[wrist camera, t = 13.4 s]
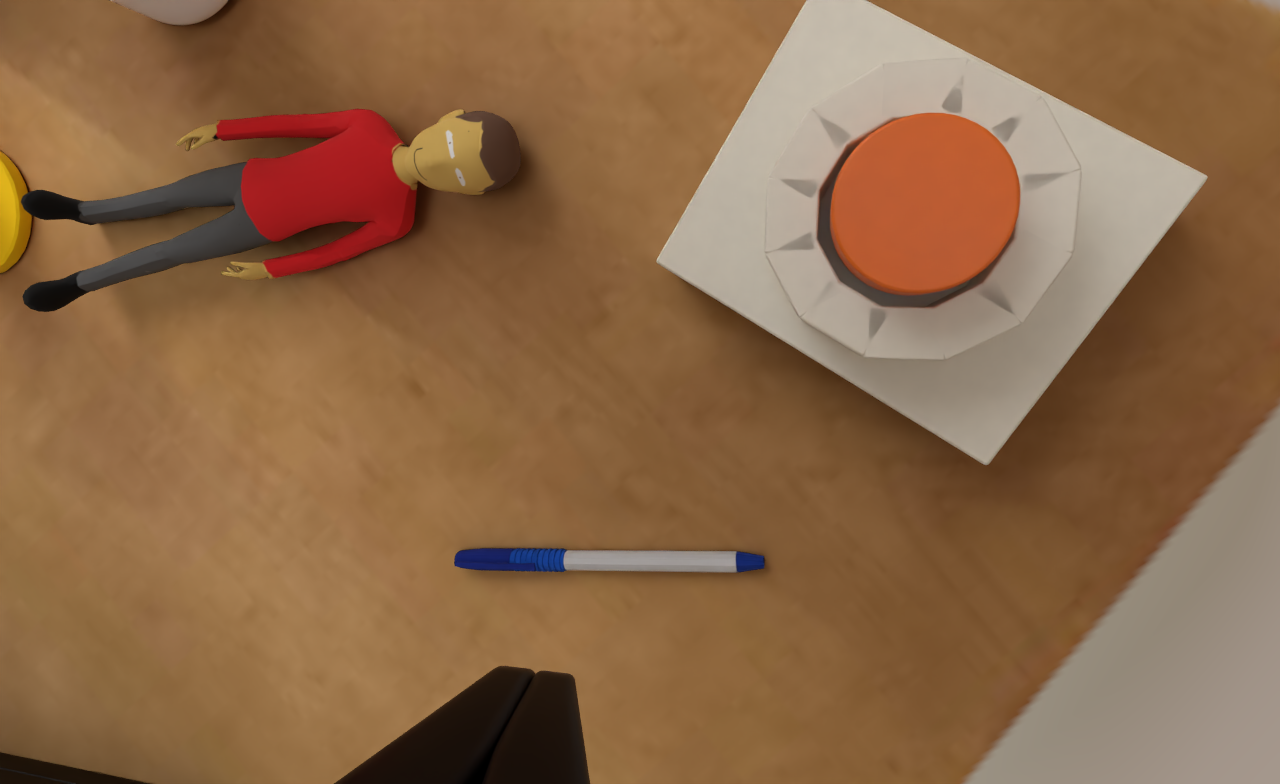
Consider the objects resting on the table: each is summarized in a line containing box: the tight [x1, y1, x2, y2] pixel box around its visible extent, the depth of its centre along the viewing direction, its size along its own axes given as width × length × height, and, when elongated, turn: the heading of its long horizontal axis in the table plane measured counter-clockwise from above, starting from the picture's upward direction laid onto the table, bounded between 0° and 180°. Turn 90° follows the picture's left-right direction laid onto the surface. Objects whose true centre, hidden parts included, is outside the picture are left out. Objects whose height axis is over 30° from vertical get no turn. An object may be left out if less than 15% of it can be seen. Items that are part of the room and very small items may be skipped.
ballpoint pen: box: [454, 548, 765, 573], centre depth 22 cm, size 10×1×1 cm, turn 96°
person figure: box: [21, 109, 521, 312], centre depth 22 cm, size 5×4×18 cm
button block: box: [657, 0, 1207, 465], centre depth 17 cm, size 10×8×4 cm
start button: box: [830, 113, 1020, 296], centre depth 15 cm, size 4×4×2 cm
